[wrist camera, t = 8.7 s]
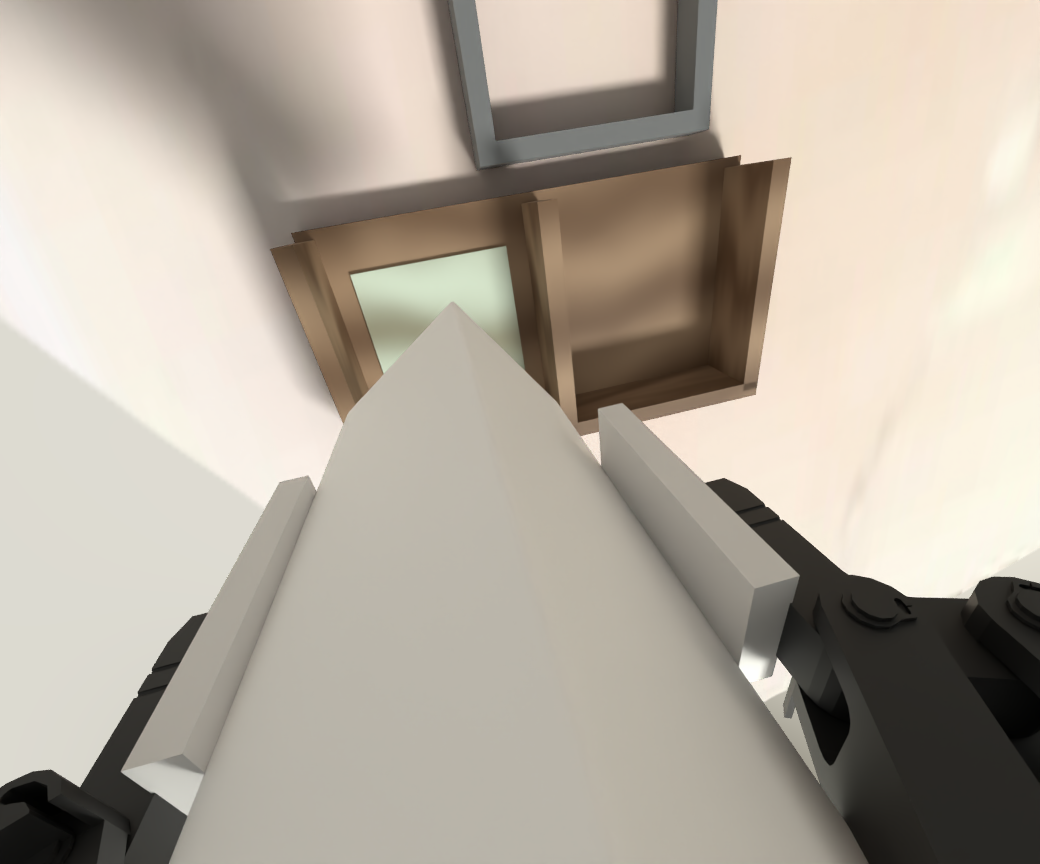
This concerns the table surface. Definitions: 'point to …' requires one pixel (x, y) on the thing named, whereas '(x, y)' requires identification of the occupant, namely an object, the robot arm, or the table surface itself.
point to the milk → (492, 661)
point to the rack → (562, 286)
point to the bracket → (687, 119)
